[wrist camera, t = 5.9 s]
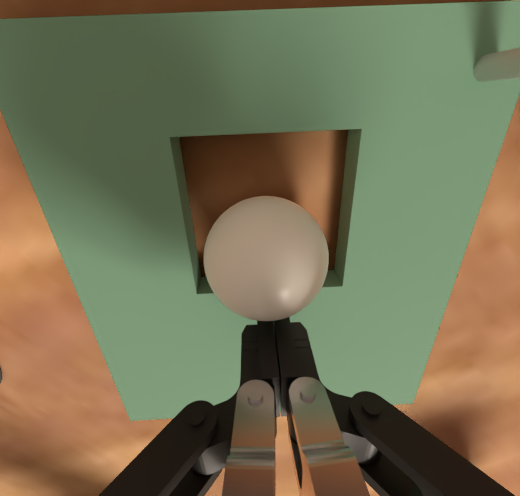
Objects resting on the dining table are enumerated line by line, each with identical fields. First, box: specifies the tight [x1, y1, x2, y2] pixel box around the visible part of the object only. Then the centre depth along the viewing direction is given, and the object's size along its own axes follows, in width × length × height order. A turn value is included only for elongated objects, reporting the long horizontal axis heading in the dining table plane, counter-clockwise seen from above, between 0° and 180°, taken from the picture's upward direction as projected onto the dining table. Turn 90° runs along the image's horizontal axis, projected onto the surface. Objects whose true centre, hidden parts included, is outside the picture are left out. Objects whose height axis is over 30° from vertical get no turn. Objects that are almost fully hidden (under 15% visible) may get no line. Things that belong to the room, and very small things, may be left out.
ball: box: [204, 196, 329, 321], centre depth 11 cm, size 5×5×5 cm
